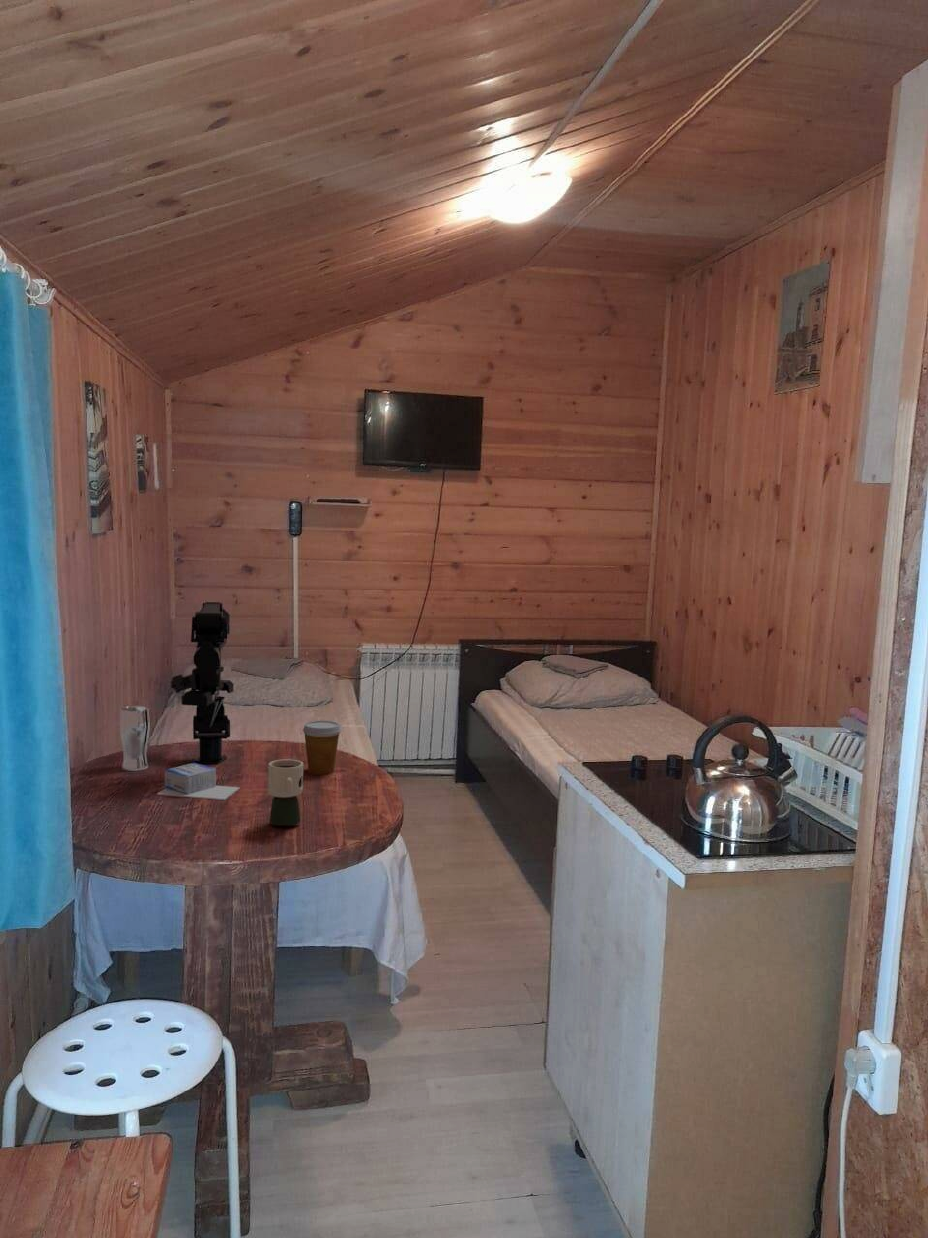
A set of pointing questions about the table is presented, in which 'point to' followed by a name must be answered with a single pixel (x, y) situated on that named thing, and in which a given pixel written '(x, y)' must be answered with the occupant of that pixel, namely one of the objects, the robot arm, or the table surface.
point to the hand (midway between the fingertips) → (208, 727)
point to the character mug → (285, 791)
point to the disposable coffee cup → (321, 745)
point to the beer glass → (134, 736)
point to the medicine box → (190, 778)
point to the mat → (204, 793)
